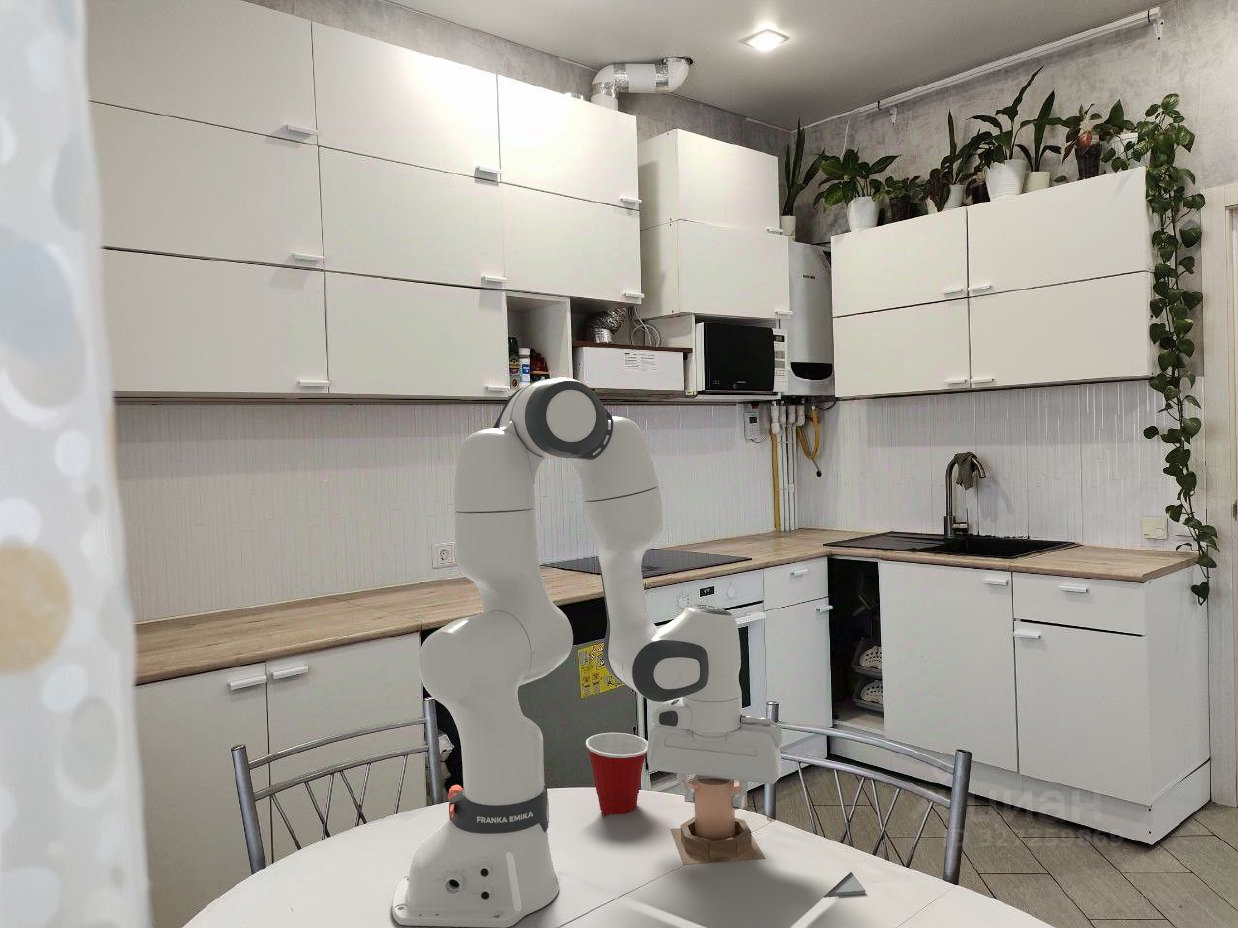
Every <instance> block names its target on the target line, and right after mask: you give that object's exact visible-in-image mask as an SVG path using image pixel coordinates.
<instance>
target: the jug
mask: <svg viewBox="0 0 1238 928" xmlns="http://www.w3.org/2000/svg"><path fill="white" fill-rule="evenodd" d="M688 786H689V787H691V788H692V789H694V803H693V804H694V817H695V833H696V834H697V835H698V836H699V837H701V838H704V839H707V840H725V839H728V838H731V837H732V836H734V834H735V818H736V814H735V812H736V811H737V810H738V809H735V808H732V804H733V802H732V797H733V796H734V794H735V793H740V792H741V790H742V789H743V787H739V781H736V782H735V780H732V779H724V778H715V777H707V776H699V775H694V776H693V780H690V781H689V782H688ZM744 800H745V804H744V808H743V809H745V808H748V791H747V792H746V793H745V795H744Z"/></svg>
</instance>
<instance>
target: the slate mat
mask: <svg viewBox="0 0 1238 928" xmlns="http://www.w3.org/2000/svg"><path fill="white" fill-rule="evenodd" d="M855 895H856V896H857V895H866V889H865V888H864V887H863V885H862V884H861V883H860V881H859V880H858V878H857V877H856V876H855V875H854V873H853V872H852V871H850V872H849V873H848V874H847V875H846V876H844V878H842V879H841V880H840V881H839V882H838V883H837V884H836V885H835V886H833V887H832V888H831V889H830V890H829V891H828V892H827V893H826V894H825V895H824V896H823V898H831V897H842V896H843V897H844V896H845V897H846V896H855Z"/></svg>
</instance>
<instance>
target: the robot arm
mask: <svg viewBox="0 0 1238 928" xmlns="http://www.w3.org/2000/svg"><path fill="white" fill-rule="evenodd" d="M459 446H460V447H459V450H458V455H457V460H456V466H455V467H456V468H455V474H454V475H455V476H454V490H453V492H454V495H453V496H454V497H453V505H454V506H453V507H454V510H453V511H454V536H455V537H454V539H455V540H454V542H455V563H456V566H457V569H458V570H459V572H460V573H461V575H463V576H464V577H465V578H467V579H468V580H469V581H471V582H473V583H474V584H475V586H476V588H477V590H478V592H479V595H480V599H481V602H482V606H483V607H482V608H483V612H481V613H478V614H475V615H470V616H468V617H463V618H459V619H456V620H454V621H452V622H450V623H448V624H446V625H445V626H443V627H441V628H439V629H437V630H435V631H434V632H432V633H431V634H430V635H428V636H427V637H426V638H425V640H424V641H423V642H422V645H421V647H420V649H419V654H418V661H417V667H418V674H419V677H420V681H421V684H422V685H423V687H424V688H425V690H426V692H427V693H428V694H429V695H430V696H431V697H432V698H433V699H434V700H436V701H437V702H438V703H440V704H442V705H443V706H444V707H445V708H446V709H447V710H448V712H449V713H450V715H451V716H452V718H453V721H454V724H455V725H456V728H457V731H458V736H459V740H460V746H461V761H462V765H461V766H462V779H463V780H462V781H463V782H462V783H463V787H462V786H461V785H459V784H454V785H452V786H450V788H449V791H448V795H447V798H448V801H449V802H448V815H449V819H448V820H447V821H446V822H444V823H443V824H442V825H440V826H439V828H436V830H435V831H433V832H432V833H431V834H429V835H427V837H426V838H424V839H423V841H422V842H421V843H420V844H419V846H417V849H416V850H415V853H414V854H413V855H414V856H413V858H412V861H411V863H410V868H409V872H408V873H406V874H405V875H404V876H403V878H401V880H400V881H399V883H397V886H396V888H395V890H394V892H393V896H392V902H391V903H392V904H391V914H392V917H393V919H394V921H395V922H397V924H398V925H400V926H415V927H418V926H420V927H421V926H423V927H424V926H425V927H456V928H457V927H459V928H460V927H461V928H462V927H463V928H464V927H465V928H467V927H468V928H509V927H513V926H514V925H515V924H518V922H519V921H521V919H523V918H524V917H525V916H526V915H529V914H531V913H534V912H536V911H539V910H540V909H542V908H544V907H545V906H547V905H548V904H550V903H551V902H552V901H553V900H554V899H555V898H556V897H557V895H558V893H559V890H560V882H559V880H558V877H557V875H556V874H557V873H556V871H555V867H554V863H553V859H552V854H551V848H550V842H549V834H548V829H549V823H550V800H549V796H550V795H549V794H548V787H547V785H546V783H545V771H544V769H545V768H544V767H545V766H544V761H545V760H544V737H543V733H542V730H541V728H540V726H538V725H537V724H536V723H535V722H534V721H533V720H531V719H530V718H528V717H526V716H525V715H524V714H523V711H522V709H521V706H520V702H519V697H518V694H519V693H518V691H519V687H520V686H522V685H526V684H529V683H531V682H533V681H536V680H539V679H541V678H543V677H546V676H547V675H548V674H550V673H551V672H553V671H555V669H556V668H558V667H559V666H560V665H562V664H563V663H564V662H565V661H566V660H567V659H568V657H569V656H570V654H571V651H572V648H573V644H574V633H573V629H572V625H571V623H570V621H569V619H568V617H567V615H566V614H565V612H563V610H561V609H560V608H559V607H558V606H556V604H554V602H553V600H552V599H551V596H550V595H549V592H548V590H547V587H546V584H545V582H544V579H543V576H542V572H541V568H540V563H539V557H538V556H539V554H538V541H537V539H538V538H537V537H538V536H537V519H536V498H535V497H536V496H535V487H534V485H535V482H536V481H535V480H536V476H537V472H538V469H539V467H540V465H541V464H542V462H543V461H544V460H545V459H547V460H554V459H561V458H564V459H566V460H568V461H569V463H571V464H572V466H573V467H574V469H575V471H576V473H577V476H578V478H579V479H580V486H581V492H582V497H583V502H584V503H583V504H584V508H585V512H586V513H585V514H586V517H587V520H588V524H589V528H590V530H591V535H592V538H593V541H594V545H595V549H596V550H595V551H596V554H597V556H598V557H597V558H598V562H599V564H598V565H599V570H600V577H601V585H602V591H603V598H604V603H605V611H606V621H607V623H606V631H605V635H604V640H603V641H604V642H603V647H602V648H603V649H602V657H603V663H604V665H605V668H606V670H607V671H608V673H609V674H610V675H611V676H612V678H613V679H615V680H616V681H617V682H620V683H622V684H624V685H626V686H628V687H629V688H630V689H632V690H633V691H634V692H636V693H638V694H639V695H640V696H642V697H643V698H645V699H647V700H650V701H652V702H657V703H661V705H659V706H658V707H657V708H656V709H655V710H654V711H653V713H652V719H651V720H652V723H653V725H654V726H653V727H651V729H649V734H648V739H647V742H648V747H647V754H646V759H647V760H646V762H647V764H648V766H649V767H650V769H651V770H653V771H657V772H658V771H659V772H664V773H673V774H674V773H675V774H676V780H677V781H678V784H679V785H680V787H681V789H682V790H683V792H684V795H683V796H684V802H685V803H692V804H694V789H692V788H691V787H689V786H688V782H689V778H688V777H689V776H690V775H693V776H696V775H699V776H707V777H715V778H724V779H732V780H734V781H738V782H739V787H743V789H742V790H741V792H740V793H734V796H733V797H732V802H733V804H732V808H735V809H737V810H744V809H745V808H744V804H745V800H744V795H745V793H746V792H747V793H748V789H749V788H750V786H751V785H752V783H759V784H766V785H767V784H768V785H774V784H775V783H776V782H777V781H778V780H779V779H780V778H781V776H782V771H783V768H782V767H783V766H782V756H781V749H780V747H781V746H782V744H783V736H782V735H783V734H782V733H783V732H782V728H781V727H780V725H779V724H778V723H777V722H776V721H773V720H772V718H770V717H758V716H757V717H756V716H751V715H750V716H749V715H744V714H743V708H742V707H743V705H742V702H743V701H742V689H741V685H740V682H739V681H740V680H739V674H740V670H741V663H742V660H741V641H740V634H739V627H738V623H737V620H736V617H735V616H734V615H733V614H732V613H731V612H729V611H728V610H725V609H724V608H720V607H719V606H718V607H716V606H713V605H707V604H690V605H687V606H685V608H684V610H683V611H682V612H681V613H680V614H679V615H678V616H676V617H675V618H674V619H673V620H671V621H669V622H668V623H666V624H664V625H663V626H660V627H657V626H656V624H655V623H654V622H653V620H652V619H651V617H650V614H649V613H648V607H647V606H648V605H647V601H646V594H645V593H646V592H645V587H644V580H643V573H642V572H643V571H642V562H643V558H644V555H645V554H646V552H647V550H648V549H649V548H650V547H651V546H652V545H653V544H654V543H655V542H656V541H657V539H658V538H659V536H660V534H661V532H662V530H663V503H662V496H661V492H660V487H659V483H658V481H659V480H658V477H657V473H656V470H655V466H654V463H653V459H652V456H651V452H650V449H649V447H648V444H647V441H646V439H645V438H644V434H643V432H642V430H641V427H640V426H638V423H636V422H635V421H633V420H631V419H629V418H626V417H623V416H616V415H615V416H612V414H611V413H610V412H609V411H608V409H607V408H606V407H605V406H604V405H603V403H602V402H601V400H600V398H599V397H598V396H597V394H596V392H594V390H592V389H591V388H590V387H589V386H588V385H586V384H585V383H584V382H582V381H579V380H577V379H574V378H569V377H555V378H551V379H550V378H547V379H546V378H545V379H540V380H536V381H533V382H531V383H529V384H527V385H526V386H523V387H521V388H518V390H516V391H515V392H514V393H512V394H511V395H510V397H509V398H508V400H507V401H506V402H505V404H504V406H503V407H502V409H501V412H500V414H499V416H498V417H497V419H496V422H495V423H494V425H493V427H492V428H486V429H482V430H478V431H475V432H473V433H471V434H470V435H468V436H467V437H466V438H464V440H463V441H462V442H461V444H460V445H459Z"/></svg>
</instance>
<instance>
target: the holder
mask: <svg viewBox="0 0 1238 928" xmlns="http://www.w3.org/2000/svg"><path fill="white" fill-rule="evenodd" d="M670 832H671V835H672V838H673V841H674V842H675V846H676V848H677V851H678V854H679V857H680V859H681V862H682V865H683V866H687V865H699V864H701V865H703V864H714V863H727V862H728V863H729V862H739V861H752V860H753V861H754V860H764V859H766V857H765V855H764V853H763V852H762V850H761V848H760V846H759V845H758V843H757V841H756V839H755V837H754V836H753V833H752V830H751V829H750V827H749V825H748V823H747V822H746V820H745V819H740V818H738V817H735V834H734V836H732V837H731V838H728V839H725V840H707V839H704V838H701V837H699V836H698V835H697V834H696V833H695V816H693V817H692V818H690V819H688V820H687V821H685V822H683V823H682V824H680V827H679V828H677V827H676V828H670Z"/></svg>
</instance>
